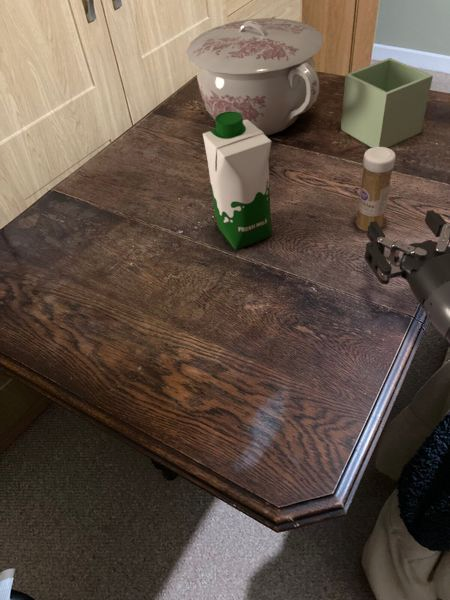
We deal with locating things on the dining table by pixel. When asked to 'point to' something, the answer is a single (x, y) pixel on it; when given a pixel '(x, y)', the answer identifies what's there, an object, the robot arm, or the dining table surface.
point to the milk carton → (239, 179)
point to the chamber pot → (258, 70)
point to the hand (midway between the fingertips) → (399, 220)
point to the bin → (385, 102)
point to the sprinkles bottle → (374, 186)
